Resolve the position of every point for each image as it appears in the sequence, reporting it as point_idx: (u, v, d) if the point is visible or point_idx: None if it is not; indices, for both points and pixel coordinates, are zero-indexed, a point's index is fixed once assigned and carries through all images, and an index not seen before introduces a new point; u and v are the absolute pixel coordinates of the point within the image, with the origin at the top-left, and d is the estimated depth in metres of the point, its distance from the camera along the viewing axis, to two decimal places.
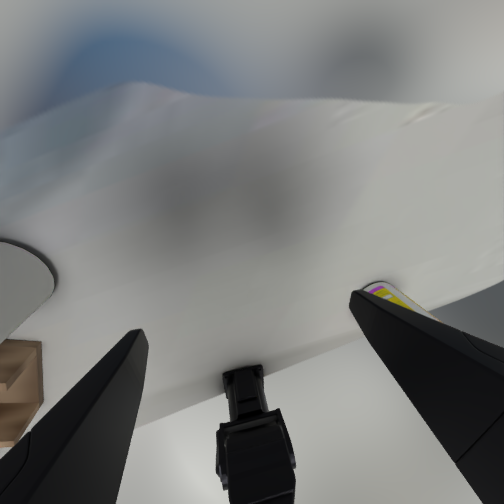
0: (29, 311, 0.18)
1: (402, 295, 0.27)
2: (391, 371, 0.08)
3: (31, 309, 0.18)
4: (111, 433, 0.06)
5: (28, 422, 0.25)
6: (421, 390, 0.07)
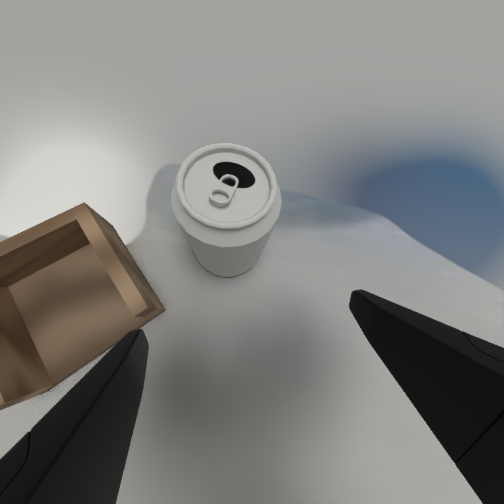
0: (245, 265, 0.19)
1: None
2: (391, 371, 0.08)
3: (245, 266, 0.19)
4: (111, 433, 0.06)
5: (24, 398, 0.15)
6: (421, 390, 0.07)
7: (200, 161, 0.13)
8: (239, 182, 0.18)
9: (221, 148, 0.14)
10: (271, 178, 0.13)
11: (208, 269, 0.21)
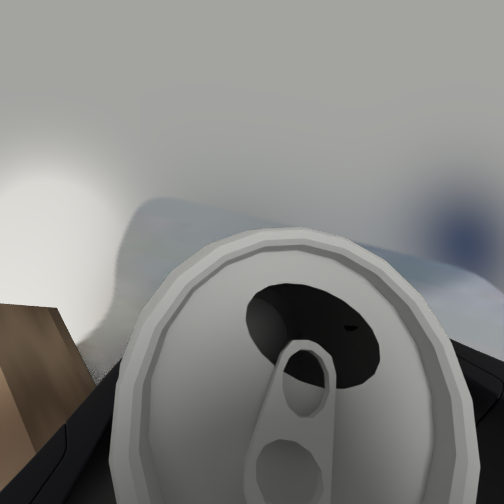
0: None
1: None
2: None
3: None
4: None
5: None
6: None
7: (206, 290, 0.04)
8: None
9: (272, 246, 0.04)
10: (445, 358, 0.04)
11: None
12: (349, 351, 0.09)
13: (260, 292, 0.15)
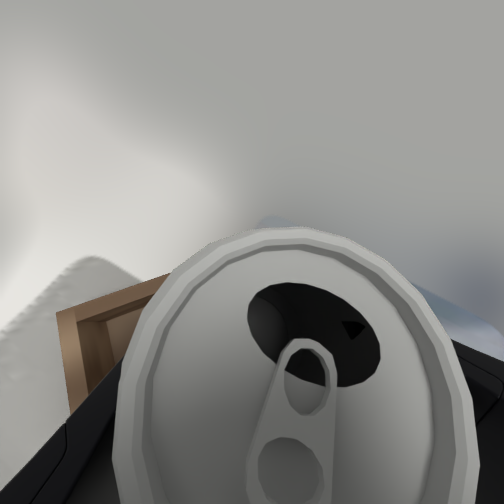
0: None
1: None
2: None
3: None
4: None
5: None
6: None
7: (208, 289, 0.04)
8: None
9: (273, 246, 0.04)
10: (445, 357, 0.04)
11: None
12: (349, 350, 0.09)
13: (260, 291, 0.15)
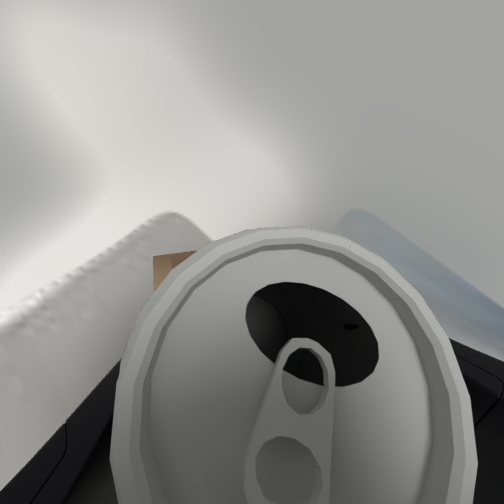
0: None
1: None
2: None
3: None
4: None
5: None
6: None
7: (206, 289, 0.04)
8: None
9: (272, 245, 0.04)
10: (443, 356, 0.04)
11: None
12: (349, 350, 0.09)
13: (260, 291, 0.15)
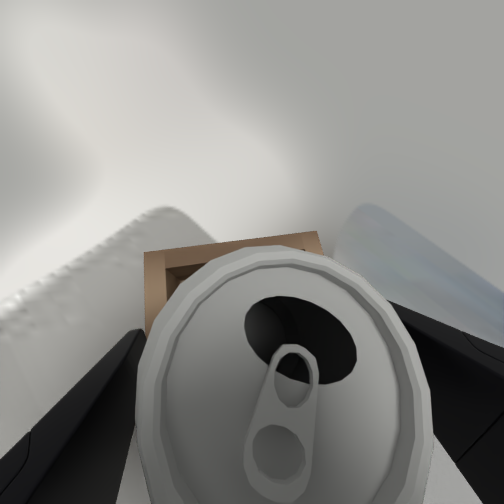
0: None
1: None
2: None
3: None
4: (111, 433, 0.06)
5: None
6: None
7: (211, 303, 0.05)
8: None
9: (265, 265, 0.05)
10: (409, 358, 0.05)
11: None
12: (340, 352, 0.09)
13: None
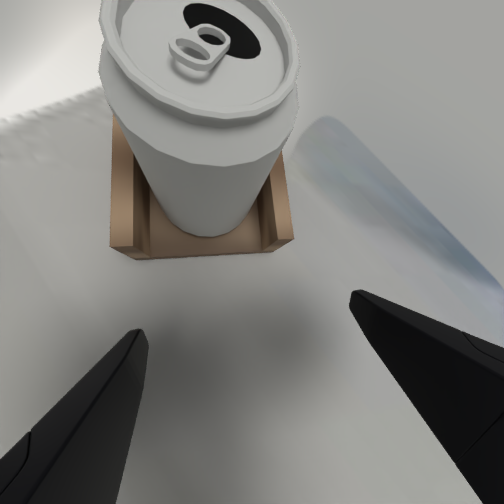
0: (228, 220, 0.14)
1: None
2: (391, 371, 0.08)
3: (228, 221, 0.14)
4: (111, 433, 0.06)
5: (133, 253, 0.14)
6: (421, 390, 0.07)
7: None
8: None
9: None
10: (291, 47, 0.07)
11: (175, 222, 0.15)
12: None
13: None
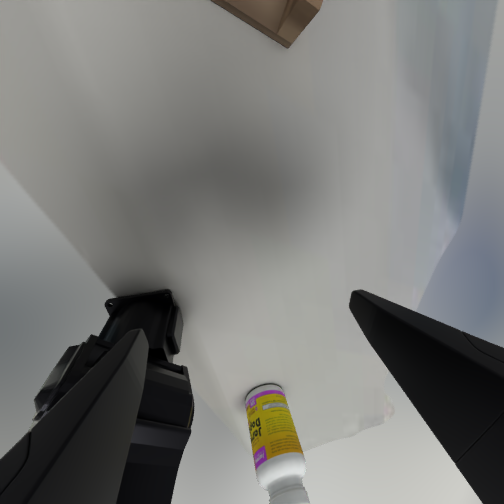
0: None
1: None
2: (391, 371, 0.08)
3: None
4: (111, 433, 0.06)
5: None
6: (421, 390, 0.07)
7: None
8: None
9: None
10: None
11: None
12: None
13: None
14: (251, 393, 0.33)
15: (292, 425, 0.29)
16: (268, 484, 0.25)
